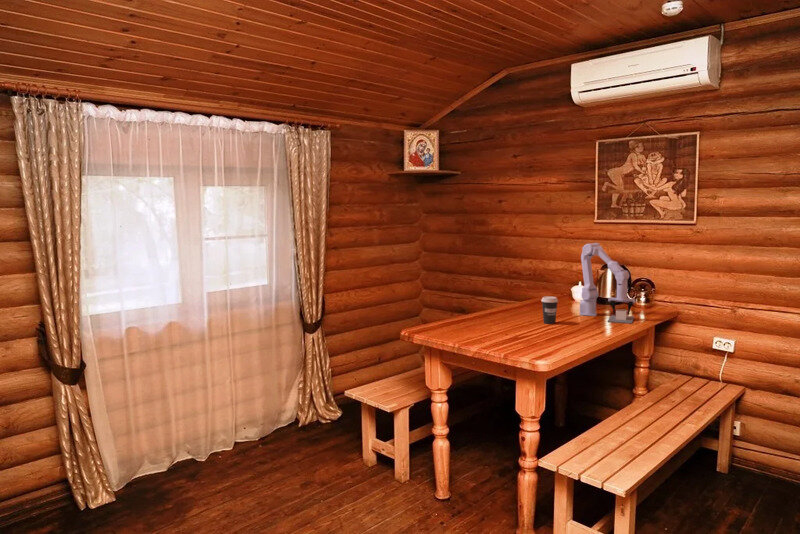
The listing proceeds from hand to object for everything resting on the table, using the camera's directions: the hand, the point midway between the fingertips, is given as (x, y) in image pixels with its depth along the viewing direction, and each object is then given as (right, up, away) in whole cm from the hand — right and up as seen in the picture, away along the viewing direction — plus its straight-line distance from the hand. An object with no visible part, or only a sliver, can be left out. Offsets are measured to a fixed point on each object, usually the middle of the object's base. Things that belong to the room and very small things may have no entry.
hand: (621, 314), depth 336 cm
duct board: (0, -3, 0) cm, 3 cm away
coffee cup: (-43, -5, -4) cm, 44 cm away
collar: (0, -3, 0) cm, 3 cm away
